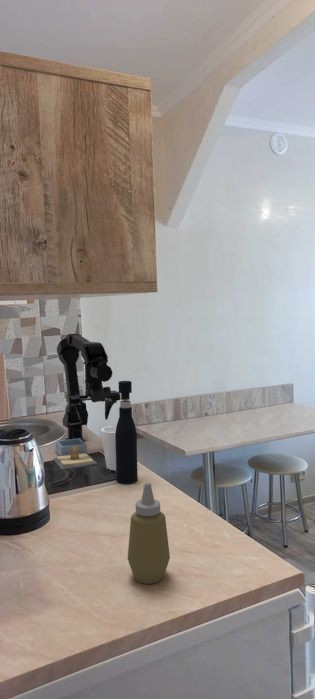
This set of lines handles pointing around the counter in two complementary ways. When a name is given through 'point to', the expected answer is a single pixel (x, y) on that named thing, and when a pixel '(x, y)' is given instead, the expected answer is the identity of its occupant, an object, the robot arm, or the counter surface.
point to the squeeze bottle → (148, 540)
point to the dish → (65, 445)
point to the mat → (72, 466)
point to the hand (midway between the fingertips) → (93, 420)
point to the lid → (74, 458)
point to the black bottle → (126, 439)
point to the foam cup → (109, 446)
